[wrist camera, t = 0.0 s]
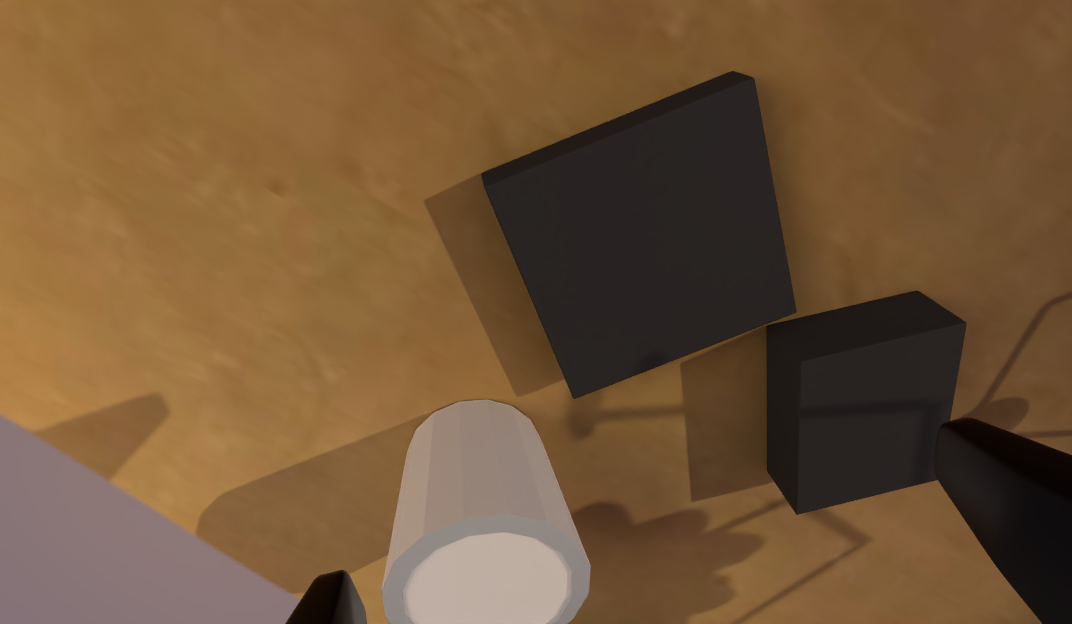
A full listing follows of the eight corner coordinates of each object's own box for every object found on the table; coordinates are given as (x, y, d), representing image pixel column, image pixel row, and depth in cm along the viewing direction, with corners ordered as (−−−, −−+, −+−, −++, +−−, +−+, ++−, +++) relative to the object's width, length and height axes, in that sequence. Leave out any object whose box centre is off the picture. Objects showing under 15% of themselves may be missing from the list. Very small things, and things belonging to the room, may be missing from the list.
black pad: (898, 438, 31) (940, 479, 28) (766, 471, 30) (796, 515, 28) (917, 290, 27) (967, 322, 24) (766, 325, 26) (800, 361, 24)
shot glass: (361, 482, 27) (342, 633, 21) (445, 359, 25) (451, 487, 19) (500, 534, 30) (519, 681, 23) (587, 426, 27) (633, 558, 21)
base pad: (777, 294, 26) (797, 312, 24) (565, 376, 26) (573, 400, 25) (733, 70, 21) (754, 77, 20) (480, 173, 22) (483, 187, 20)
